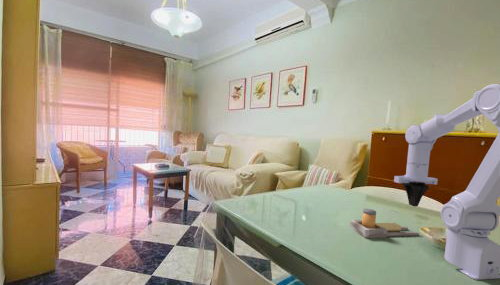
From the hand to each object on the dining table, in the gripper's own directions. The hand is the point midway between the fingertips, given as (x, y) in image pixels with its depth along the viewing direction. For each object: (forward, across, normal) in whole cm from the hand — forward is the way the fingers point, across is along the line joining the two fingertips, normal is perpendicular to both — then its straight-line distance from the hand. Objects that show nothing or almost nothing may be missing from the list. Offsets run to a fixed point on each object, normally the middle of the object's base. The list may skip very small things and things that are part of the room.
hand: (413, 205), depth 76 cm
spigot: (+9, +16, 0) cm, 18 cm away
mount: (+9, +9, 0) cm, 13 cm away
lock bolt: (+9, +9, 0) cm, 13 cm away
